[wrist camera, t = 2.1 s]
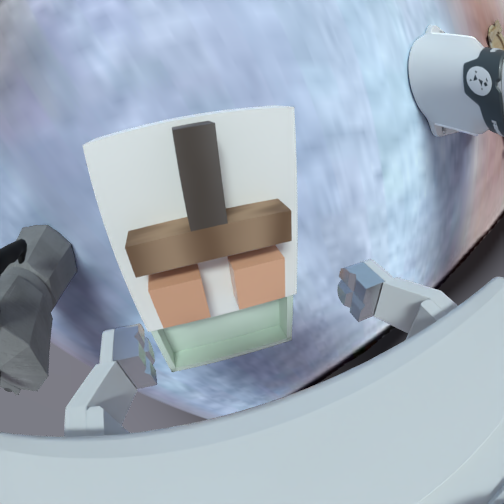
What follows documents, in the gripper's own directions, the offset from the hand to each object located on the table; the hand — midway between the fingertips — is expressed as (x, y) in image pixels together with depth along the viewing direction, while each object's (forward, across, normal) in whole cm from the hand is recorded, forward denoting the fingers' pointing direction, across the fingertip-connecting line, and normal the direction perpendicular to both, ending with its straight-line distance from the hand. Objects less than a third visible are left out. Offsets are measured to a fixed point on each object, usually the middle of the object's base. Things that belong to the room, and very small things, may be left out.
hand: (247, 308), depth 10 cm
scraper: (+15, 0, 0) cm, 15 cm away
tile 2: (+15, +4, +10) cm, 18 cm away
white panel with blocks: (+20, 0, +4) cm, 20 cm away
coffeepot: (+20, +18, +4) cm, 28 cm away
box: (+20, 0, +20) cm, 28 cm away
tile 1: (+15, -4, +10) cm, 19 cm away
